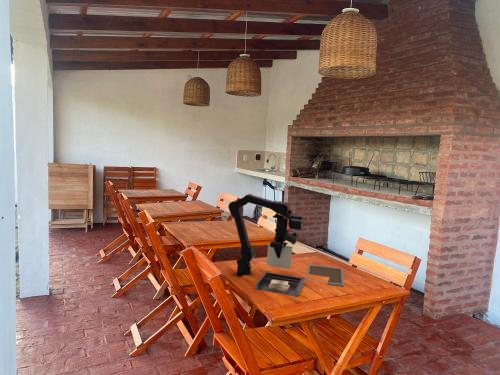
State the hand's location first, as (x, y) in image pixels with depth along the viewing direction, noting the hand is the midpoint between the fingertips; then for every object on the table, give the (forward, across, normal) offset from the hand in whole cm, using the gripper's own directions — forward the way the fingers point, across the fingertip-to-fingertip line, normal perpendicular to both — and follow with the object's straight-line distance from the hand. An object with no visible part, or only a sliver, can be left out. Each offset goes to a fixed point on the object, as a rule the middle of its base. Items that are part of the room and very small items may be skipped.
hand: (279, 257), depth 199 cm
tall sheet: (+5, 0, 0) cm, 5 cm away
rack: (+12, -10, -4) cm, 16 cm away
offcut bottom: (+11, -12, -4) cm, 17 cm away
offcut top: (+10, -12, -4) cm, 16 cm away
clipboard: (+13, +21, -22) cm, 32 cm away
